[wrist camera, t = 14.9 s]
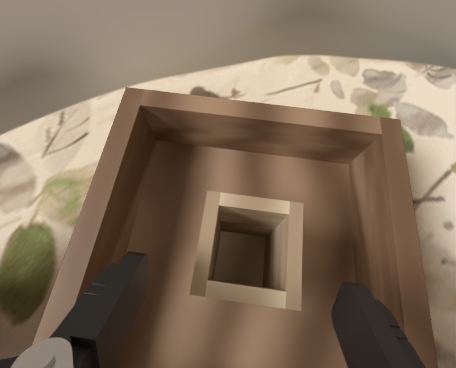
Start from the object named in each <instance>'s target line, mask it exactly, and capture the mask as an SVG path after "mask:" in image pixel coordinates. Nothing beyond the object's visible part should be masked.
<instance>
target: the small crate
mask: <svg viewBox="0 0 456 368" xmlns="http://www.w3.org/2000/svg"><path fill="white" fill-rule="evenodd" d="M302 247H303V203H298V202H290V201H283V200H275V199H268V198H260V197H252V196H245V195H237V194H230V193H222V192H214V191H207V197H206V202H205V208H204V214H203V219H202V225H201V231H200V237H199V242H198V248H197V254H196V260H195V265H194V271H193V277H192V283H191V288H190V294H189V295H194V296H201V297H208V298H215V299H221V300H228V301H235V302H242V303H249V304H256V305H262V306H269V307H276V308H283V309H290V310H297V311H301V297H302Z"/></svg>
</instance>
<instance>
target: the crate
mask: <svg viewBox="0 0 456 368" xmlns="http://www.w3.org/2000/svg"><path fill="white" fill-rule="evenodd" d="M207 191H214V192H222V193H230V194H237V195H245V196H252V197H260V198H268V199H275V200H283V201H290V202H298V203H303V247H302V297H301V311H297V310H290V309H283V308H276V307H269V306H262V305H256V304H249V303H242V302H235V301H228V300H221V299H215V298H208V297H201V296H194V295H189V294H190V288H191V283H192V277H193V271H194V265H195V260H196V254H197V248H198V242H199V237H200V231H201V225H202V219H203V214H204V208H205V202H206V197H207ZM129 251H131V252H138V253H145V254H148V258H149V287H148V291H147V294H146V297H145V299H144V301H143V304H142V306H141V308H140V310H139V312H138V314H137V317H136V319H135V321H134V323H133V325H132V327H131V329H130V332H129V334H128V336H127V338H126V340H125V342H124V345H123V347H122V349H121V351H120V353H119V355H118V358H117V360H116V362H115V364H114V366H113V368H348V367H347V364H346V361H345V358H344V355H343V352H342V349H341V347H340V344H339V341H338V338H337V335H336V332H335V330H334V327H333V324H332V318H331V311H332V307H333V304H334V302H335V299H336V297H337V294H338V292H339V289H340V287H341V285H342V283H343V282H352V283H359V284H365V285H366V286H367V287H368V289H369V291H370V292H371V294H372V296H373V298H374V299H375V300H379V301H380V302H381V303H382V304H383V305H384V306H385V307H387V308H388V309H389V310H390V311H391V312H392V314H393V315H394V317H395V319H396V320H397V322H398V324H399V325H400V329H402V330H403V332H404V333H405V335H406V336H407V338H408V342H410V343H411V344H412V346H413V348H414V349H415V351H416V352H417V354H418V356H419V357H420V359H421V361H422V362H423V364H424V365H425V367H426V368H438V364H437V357H436V351H435V344H434V338H433V331H432V325H431V318H430V312H429V305H428V298H427V292H426V285H425V279H424V272H423V266H422V259H421V253H420V246H419V240H418V233H417V226H416V220H415V213H414V207H413V200H412V194H411V187H410V181H409V174H408V167H407V161H406V154H405V148H404V141H403V135H402V128H401V122H400V120H398V119H390V118H381V117H373V116H365V115H356V114H348V113H339V112H331V111H322V110H314V109H305V108H297V107H288V106H280V105H271V104H263V103H255V102H246V101H238V100H229V99H221V98H212V97H204V96H195V95H187V94H178V93H170V92H161V91H153V90H145V89H136V88H128V87H126V89H125V92H124V95H123V97H122V100H121V103H120V105H119V108H118V111H117V114H116V116H115V119H114V122H113V125H112V127H111V130H110V133H109V136H108V138H107V141H106V144H105V147H104V149H103V152H102V155H101V158H100V160H99V163H98V166H97V168H96V171H95V174H94V177H93V179H92V182H91V185H90V188H89V190H88V193H87V196H86V199H85V201H84V204H83V207H82V210H81V212H80V215H79V218H78V220H77V223H76V226H75V229H74V231H73V234H72V237H71V240H70V242H69V245H68V248H67V251H66V253H65V256H64V259H63V262H62V264H61V267H60V270H59V273H58V275H57V278H56V281H55V283H54V286H53V289H52V292H51V294H50V297H49V300H48V303H47V305H46V308H45V311H44V314H43V316H42V319H41V322H40V325H39V327H38V330H37V333H36V336H35V338H34V341H33V344H32V345H34V344H36V343H37V342H40V341H42V340H45V339H48V338H49V337H50V336H51V335H52V334H53V333H54V331H55V330H56V329H57V327H58V326H59V325H60V323H61V322H62V321H63V320H64V318H65V317H66V316H67V314H68V313H69V312H70V310H71V309H72V308H73V306H74V305H75V304H76V302H77V301H78V300H79V299H80V297H81V296H82V295H84V292H85V291H86V289H87V288H88V287H89V285H91V284H92V281H93V280H94V279H95V278H96V276H97V275H98V274H99V272H100V271H101V270H103V269H104V268H106V267H107V266H108V265H110V264H111V263H119V264H120V262H121V261H122V259H123V258H124V256H125V255H126V254H127V252H129Z"/></svg>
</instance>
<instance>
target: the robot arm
mask: <svg viewBox="0 0 456 368" xmlns="http://www.w3.org/2000/svg"><path fill="white" fill-rule="evenodd" d="M148 287H149V258H148V254H145V253H138V252H131V251H129V252H127V254H126V255H125V256H124V258H123V259H122V261H121V262H120V264H119V263H111V264H110V265H108V266H107V267H106V268H104V269H103V270H101V271H100V272H99V274H98V275H97V276H96V278H95V279H94V280H93V281H92V284H91V285H89V287H88V288H87V289H86V291H85V292H84V295H82V296H81V297H80V299H79V300H78V301H77V302H76V304H75V305H74V306H73V308H72V309H71V310H70V312H69V313H68V314H67V316H66V317H65V318H64V320H63V321H62V322H61V323H60V325H59V326H58V327H57V329H56V330H55V331H54V333H53V334H52V335H51V336H50V337H49V338H48V339H45V340H42V341H40V342H37V343H36V344H34V345H32V346H31V347H29V348H28V349H26V350H25V351H24V352H23V353H22V354H21V355H20V356H16V357H12V358H7V359H2V360H0V368H113V366H114V364H115V362H116V360H117V358H118V355H119V353H120V351H121V349H122V347H123V345H124V342H125V340H126V338H127V336H128V334H129V332H130V329H131V327H132V325H133V323H134V321H135V319H136V317H137V314H138V312H139V310H140V308H141V306H142V304H143V301H144V299H145V297H146V294H147V291H148ZM331 318H332V324H333V327H334V330H335V332H336V335H337V338H338V341H339V344H340V347H341V349H342V352H343V355H344V358H345V361H346V364H347V367H348V368H426V367H425V365H424V364H423V362H422V361H421V359H420V357H419V356H418V354H417V352H416V351H415V349H414V348H413V346H412V344H411V343H410V342H408V338H407V336H406V335H405V333H404V332H403V330H402V329H400V325H399V324H398V322H397V320H396V319H395V317H394V315H393V314H392V312H391V311H390V310H389V309H388V308H387V307H385V306H384V305H383V304H382V303H381V302H380V301H379V300H375V299H374V298H373V296H372V294H371V292H370V291H369V289H368V287H367V286H366V285H365V284H359V283H352V282H343V283H342V285H341V287H340V289H339V292H338V294H337V297H336V299H335V302H334V304H333V307H332V311H331Z"/></svg>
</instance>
